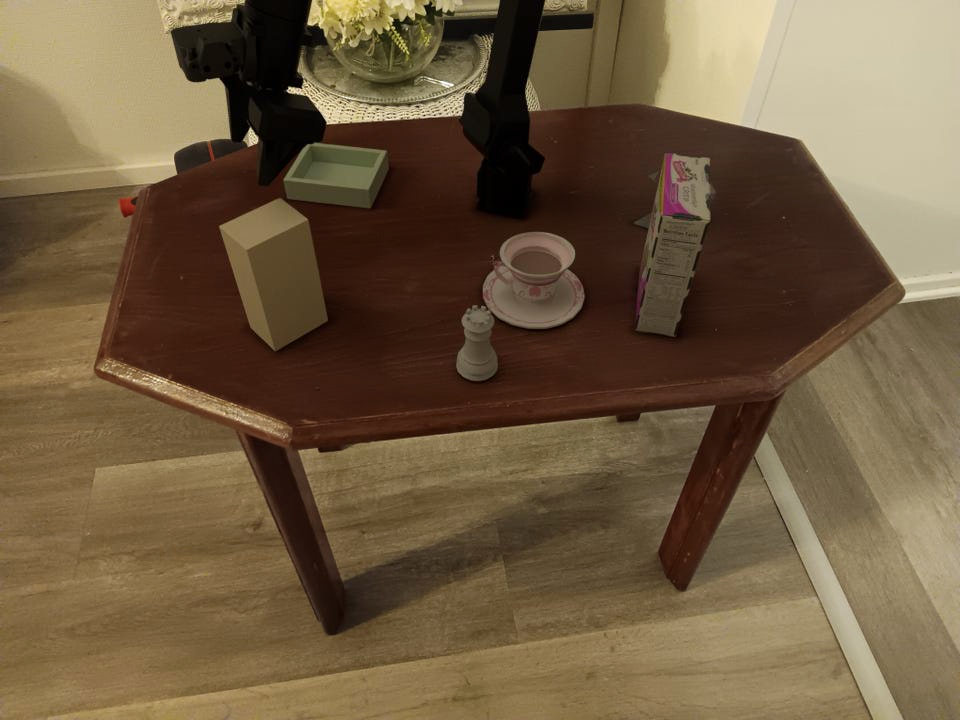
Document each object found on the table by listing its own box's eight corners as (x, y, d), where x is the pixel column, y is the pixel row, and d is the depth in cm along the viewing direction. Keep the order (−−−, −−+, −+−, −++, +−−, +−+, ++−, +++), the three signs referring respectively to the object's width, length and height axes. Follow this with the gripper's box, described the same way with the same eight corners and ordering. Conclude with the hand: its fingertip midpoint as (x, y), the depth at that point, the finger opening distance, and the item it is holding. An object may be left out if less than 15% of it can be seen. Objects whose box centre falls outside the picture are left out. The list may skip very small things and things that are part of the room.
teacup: (569, 257, 89) (575, 216, 85) (596, 324, 81) (604, 283, 77) (474, 267, 88) (475, 226, 83) (492, 336, 80) (494, 295, 75)
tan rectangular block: (302, 298, 84) (280, 197, 73) (328, 320, 81) (308, 219, 71) (250, 327, 80) (218, 225, 70) (275, 351, 78) (246, 249, 68)
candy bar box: (636, 269, 88) (664, 150, 76) (678, 275, 87) (712, 156, 75) (631, 333, 81) (660, 212, 69) (676, 339, 80) (713, 219, 68)
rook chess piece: (454, 353, 78) (454, 299, 72) (495, 351, 78) (498, 297, 72) (457, 384, 75) (456, 331, 69) (500, 382, 75) (503, 328, 69)
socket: (388, 169, 102) (387, 150, 100) (370, 208, 96) (368, 189, 93) (310, 160, 103) (306, 141, 101) (287, 199, 97) (283, 179, 95)
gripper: (161, -47, 67) (146, 112, 76) (215, 29, 56) (191, 205, 65) (277, -18, 74) (251, 125, 82) (346, 55, 63) (308, 211, 71)
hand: (248, 162), depth 75 cm, fingers open, 9 cm apart
